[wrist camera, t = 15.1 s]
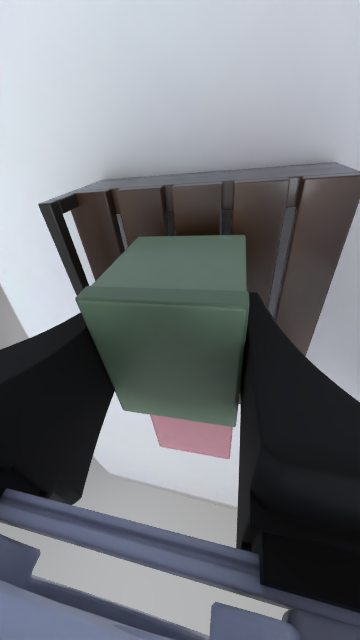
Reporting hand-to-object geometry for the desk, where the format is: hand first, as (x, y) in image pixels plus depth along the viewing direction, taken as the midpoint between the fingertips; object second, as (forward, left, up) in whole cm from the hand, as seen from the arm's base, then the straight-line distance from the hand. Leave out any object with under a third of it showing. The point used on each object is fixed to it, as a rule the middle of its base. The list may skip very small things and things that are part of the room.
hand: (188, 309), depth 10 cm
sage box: (0, 0, -1) cm, 1 cm away
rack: (0, +4, -7) cm, 8 cm away
